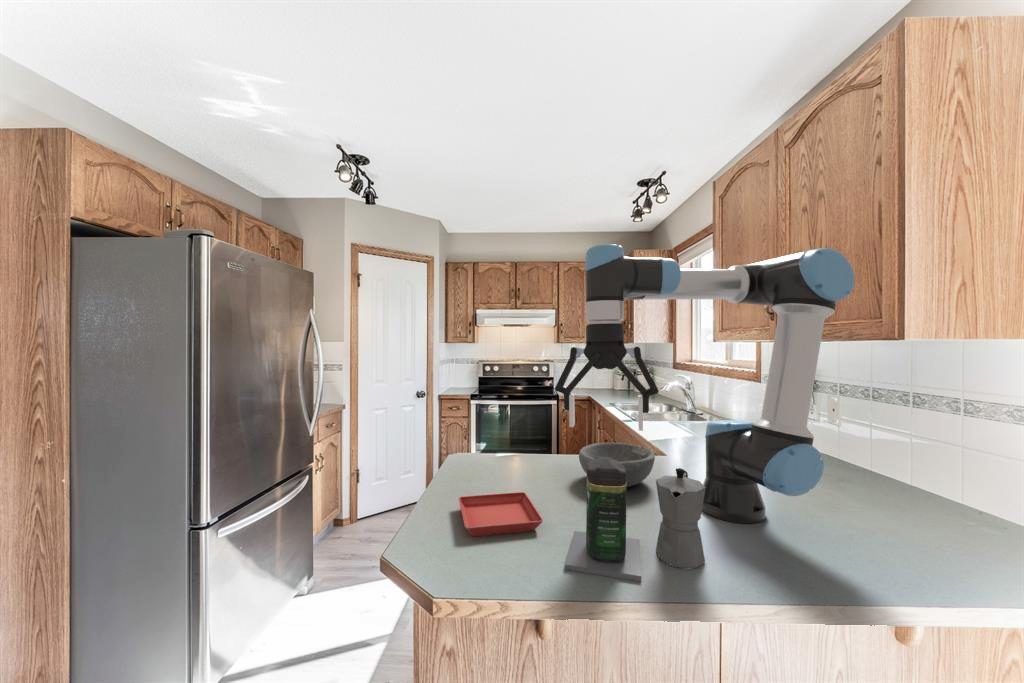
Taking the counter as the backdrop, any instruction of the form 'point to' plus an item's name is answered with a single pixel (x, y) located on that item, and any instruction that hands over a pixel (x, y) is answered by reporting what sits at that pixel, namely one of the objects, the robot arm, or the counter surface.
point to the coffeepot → (680, 520)
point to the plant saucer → (499, 513)
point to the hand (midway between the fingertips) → (605, 427)
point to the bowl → (622, 459)
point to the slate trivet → (618, 569)
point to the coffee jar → (606, 509)
